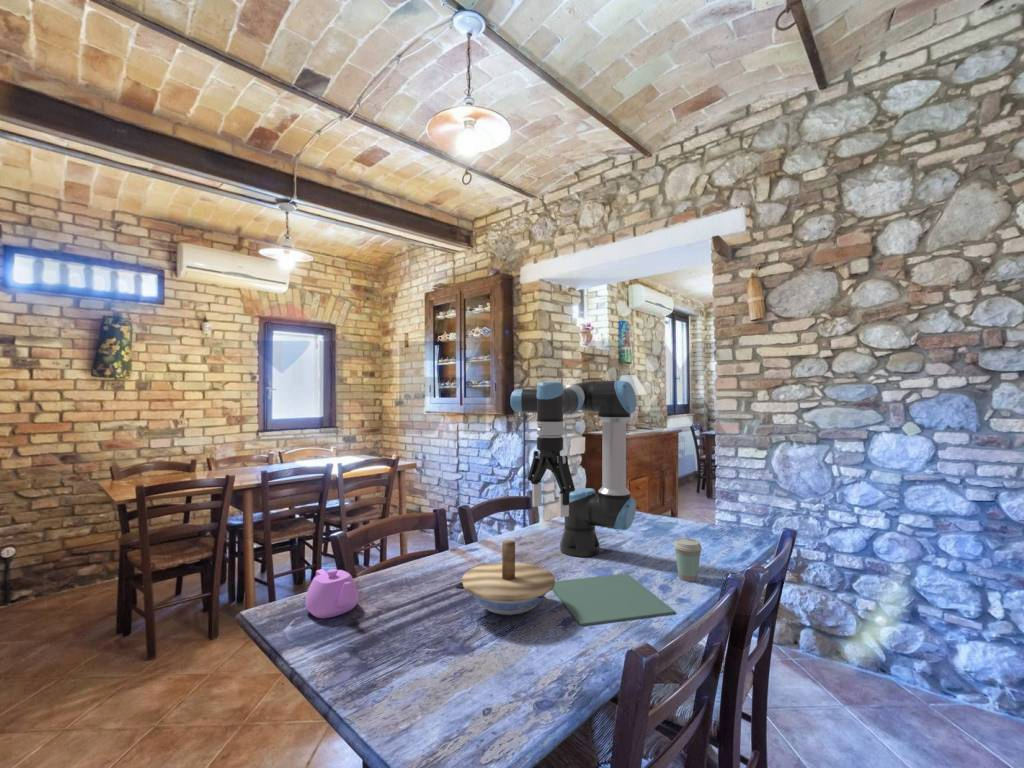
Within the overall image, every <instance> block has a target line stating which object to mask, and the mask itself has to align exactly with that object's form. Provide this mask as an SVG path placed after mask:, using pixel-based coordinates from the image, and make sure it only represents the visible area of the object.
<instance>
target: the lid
mask: <svg viewBox="0 0 1024 768" xmlns="http://www.w3.org/2000/svg"><path fill="white" fill-rule="evenodd" d="M501 543H502V544H501V545H502V551H501V552H502V555H501V556H502V559H501V562H493V563H485V564H481V565H479V566H475V567H473V568H471V569H469V570H467V571H466V572H465V573H464V574H463V576H462V578H461V583H462V585H463V587H464V588H465V589H464V590H466V592H468V593H470V594H471V595H472V594H474V595H476V596H479V597H482V598H487V599H493V600H504V601H514V600H525V599H531V598H535V597H539V596H541V595H544V594H548V593H550V592H551V591H552V589H553V587H554V585H555V581H556V578H555V576H554V574H553V573H552V572H551V571H549V570H548V569H546V568H543V567H541V566H538V565H535V564H531V563H523V562H516V541H515V540H510V539H507V540H503V541H502V542H501Z"/></svg>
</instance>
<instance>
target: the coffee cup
mask: <svg viewBox="0 0 1024 768" xmlns="http://www.w3.org/2000/svg"><path fill="white" fill-rule="evenodd" d="M673 547H674V550H675V551H674V552H675V558H676V559H675V560H676V566H677V567H676V569H677V576H678V579H680V580H681V581H683V582H684V581H685V582H692V583H693V582H696V581H698V577H699V575H698V574H699V568H700V567H699V566H700V561H701V560H700V559H701V551H702V545H701V542H700V541H699V540H697V539H694V538H691V537H690V538H689V537H679V538H676V539H675V541H674V543H673Z"/></svg>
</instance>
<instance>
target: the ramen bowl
mask: <svg viewBox="0 0 1024 768" xmlns="http://www.w3.org/2000/svg"><path fill="white" fill-rule="evenodd" d="M455 587H456V589H459V590H461V589H462V590H466V589H465V588H464V587H463V585H462V582H459V583H458V584H457V585H456V586H455ZM546 594H547V593H546ZM546 594H544V595H541V596H539V597H535V598H531V599H525V600H514V601H504V600H493V599H487V598H482V597H479V596H476V595H474V594H472V593H471V595H472V597H473V598H474V600H475V601H476V602H477V604H479V606H480V607H482V608H484V609H486V610H487V611H489V612H491V613H494V614H497V615H504V616H515V615H519V614H523V613H525V612H528V611H530V610H532V609H534V608H535V607H536V606H537V605H539V604H540V603H541V601H542V600H543V599H546V598H547V596H546Z"/></svg>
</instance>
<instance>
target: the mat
mask: <svg viewBox="0 0 1024 768" xmlns="http://www.w3.org/2000/svg"><path fill="white" fill-rule="evenodd" d="M551 591H553V593H554V594H555V595H556V597H557V598H558V600H559V601H560V603H561V604H562V605H563V606H564V607H565V608H566V610H567V611H568V613H569V614H571V616H572V617H573V619H575V621H576V622H577V623H578V624H579V627H580V626H581V627H582V626H590V625H598V624H599V625H600V624H605V623H612V622H613V623H614V621H615V622H621V621H629V620H636V619H643V618H644V619H645V618H652V617H659V616H666V615H673V614H674V615H675V614H676V610H674V608H672V607H671V606H670V605H669V604H667V603H666V602H664V601H663V600H661V599H660V598H659V597H658V596H657V595H655V594H654V593H653V592H652V591H650V590H649V589H648V588H646V587H645V586H644V585H643V584H641V583H640V582H639V581H638V580H637V579H635V578H634V577H633V576H631V575H630V574H629V573H620V574H618V573H617V574H610V575H602V576H591V577H582V578H575V579H574V578H572V579H565V580H555V585H554V587H553V589H552V590H551Z"/></svg>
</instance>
